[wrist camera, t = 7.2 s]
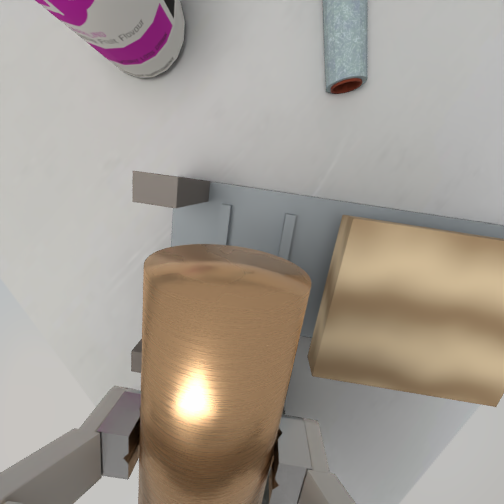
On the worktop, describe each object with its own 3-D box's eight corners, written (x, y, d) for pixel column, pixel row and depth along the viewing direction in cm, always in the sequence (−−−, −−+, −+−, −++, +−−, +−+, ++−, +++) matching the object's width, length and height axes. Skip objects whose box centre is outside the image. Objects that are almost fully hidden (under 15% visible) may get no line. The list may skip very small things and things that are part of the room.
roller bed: (444, 354, 28) (536, 439, 19) (170, 309, 29) (123, 369, 20) (501, 225, 24) (656, 249, 15) (178, 176, 25) (122, 169, 15)
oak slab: (471, 383, 23) (496, 406, 20) (307, 356, 23) (312, 376, 21) (539, 244, 19) (579, 252, 16) (342, 214, 19) (353, 218, 17)
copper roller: (252, 483, 12) (244, 650, 7) (165, 468, 12) (109, 626, 8) (298, 255, 9) (332, 320, 4) (180, 237, 9) (98, 283, 4)
